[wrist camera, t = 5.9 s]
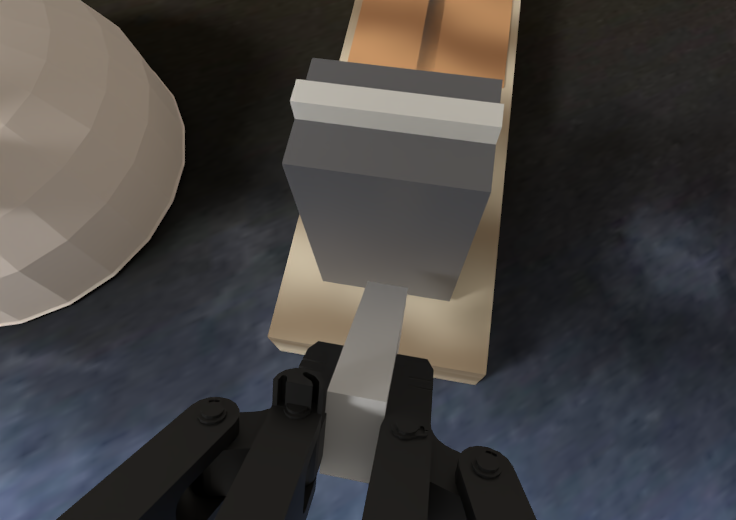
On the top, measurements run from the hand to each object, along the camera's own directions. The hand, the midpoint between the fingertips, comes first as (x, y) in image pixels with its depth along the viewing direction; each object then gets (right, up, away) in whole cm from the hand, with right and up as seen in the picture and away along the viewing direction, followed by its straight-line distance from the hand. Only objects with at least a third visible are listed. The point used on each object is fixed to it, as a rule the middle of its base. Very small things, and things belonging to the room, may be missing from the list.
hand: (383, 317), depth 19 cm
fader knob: (+1, +3, +5) cm, 6 cm away
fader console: (+2, +9, +11) cm, 14 cm away
